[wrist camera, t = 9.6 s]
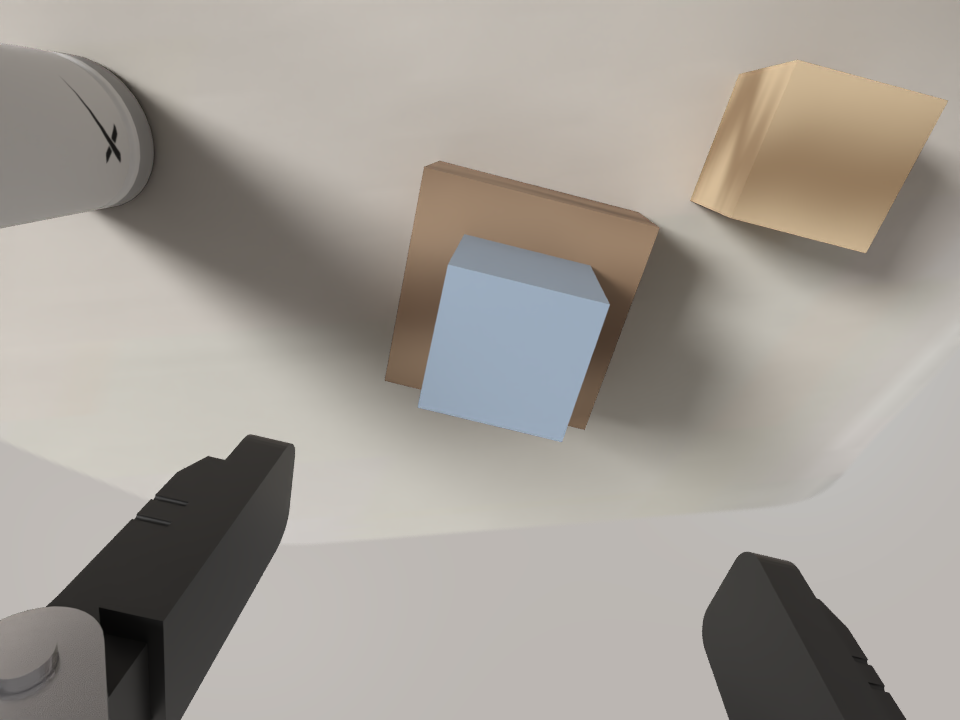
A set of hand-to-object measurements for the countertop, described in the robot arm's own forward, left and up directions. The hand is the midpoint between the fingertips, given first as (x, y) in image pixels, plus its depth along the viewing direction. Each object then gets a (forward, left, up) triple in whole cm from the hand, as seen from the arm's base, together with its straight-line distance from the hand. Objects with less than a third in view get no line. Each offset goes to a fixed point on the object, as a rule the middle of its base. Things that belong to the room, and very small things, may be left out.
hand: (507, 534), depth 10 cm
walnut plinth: (0, 0, -17) cm, 17 cm away
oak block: (-8, +9, -17) cm, 21 cm away
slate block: (0, 0, -13) cm, 13 cm away
